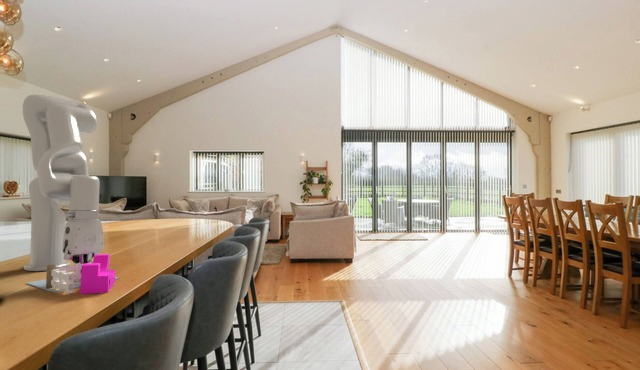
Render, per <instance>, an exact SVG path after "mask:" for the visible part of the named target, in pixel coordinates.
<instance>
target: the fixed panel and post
mask: <svg viewBox="0 0 640 370" xmlns="http://www.w3.org/2000/svg"><path fill="white" fill-rule="evenodd" d="M73 274H74V271H70V272H67V271H65V270H64V271H60V269H55V265H48V266H47V270H46V277H45V278H46V288H47V289H50V288H52V289H59V291H60V292H64V291H65V294H72V293H74V289H73Z"/></svg>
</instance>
